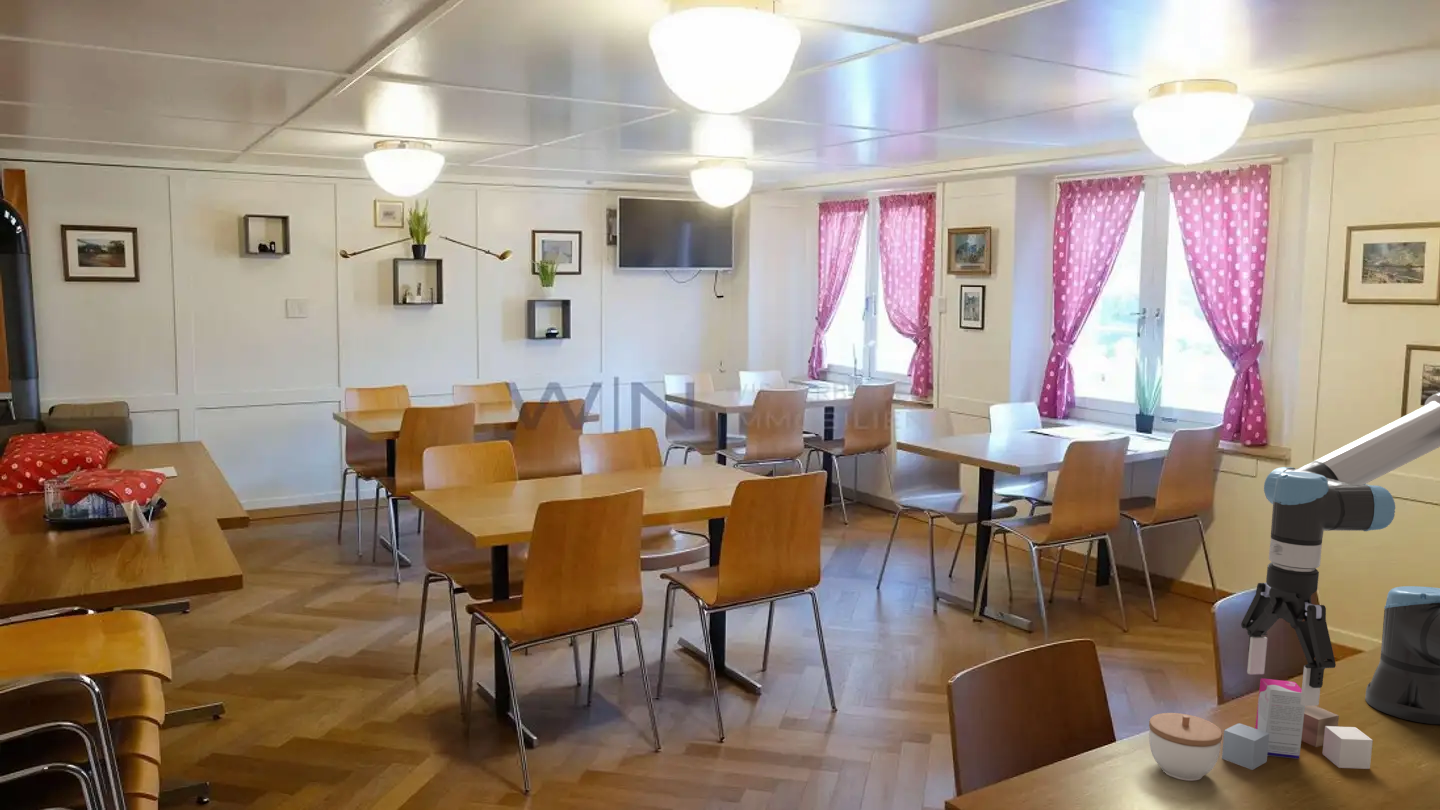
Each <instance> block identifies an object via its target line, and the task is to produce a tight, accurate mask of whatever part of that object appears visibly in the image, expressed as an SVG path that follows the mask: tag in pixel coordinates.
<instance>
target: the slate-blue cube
mask: <svg viewBox="0 0 1440 810" xmlns="http://www.w3.org/2000/svg"><path fill="white" fill-rule="evenodd" d="M1222 739H1223V741H1222V754H1221V759H1222V760H1225V761H1227V762H1231V763H1232V764H1235V765H1238V766H1241V767H1243V768H1247V769H1248V770H1251V771H1253V770H1255V769H1256V768H1258V767H1260V766H1262V765H1264V764H1266V763H1267V760H1268V756H1267V753H1268V742H1269V733H1267V732H1264V731H1261V730H1258V729H1255V727H1253V726H1249V725H1246V724H1243V723H1240V722H1237V723H1236V724H1233V725H1231V726H1230V727H1227V728H1226V729H1224V730H1223V738H1222Z"/></svg>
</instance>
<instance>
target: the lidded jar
mask: <svg viewBox="0 0 1440 810" xmlns="http://www.w3.org/2000/svg"><path fill="white" fill-rule="evenodd" d="M1148 723H1149V724H1148V727H1149V733H1148V735H1149V737H1148V739H1149V748H1150V752H1151V755H1152V757H1153V759H1154V761H1155V762H1156V764H1157V765H1158V766H1159V767H1160V768H1161V771H1162V770H1163V771H1162V772H1163V773H1164V772H1165V773H1166V775H1167V776H1168V777H1171V778H1173V779H1177V780H1180V781H1187V782H1190V781H1191V782H1194V781H1200V780H1201V779H1202V778H1203V776H1205V775H1207V774H1208V773H1210V772H1211V771H1212V770H1213V769H1214V767H1215V766H1216V763H1217V762H1218V760H1219V756H1220V753H1221V752H1220V751H1221V746H1222V745H1221V744H1222V743H1221V742H1222V739H1223V732H1222V729H1221V728H1220V727H1219V726H1217V725H1216V724H1215V723H1213V722H1211V721H1209V720H1206V718H1203V717H1200V716H1195V715H1193V714H1192V715H1191V714H1186V713H1180V712H1179V713H1178V712H1163V713H1157V714H1155V715H1153V716H1151V717H1150V719H1149V721H1148ZM1165 773H1164V774H1165Z"/></svg>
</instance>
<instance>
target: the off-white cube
mask: <svg viewBox="0 0 1440 810" xmlns="http://www.w3.org/2000/svg"><path fill="white" fill-rule="evenodd" d="M1373 741H1374V740H1373V739H1372V738H1370V737H1369V736H1368V735H1367V734H1365V733H1364V732H1363V731H1361V730H1360V729H1358V728H1357V727H1355V726H1338V727H1337V726H1325V733H1324V743H1323V746H1322V755H1323V756H1325V758H1327V760H1328V761H1330V762H1331V763H1333V764H1334V766H1336V767H1338V769H1341V768H1342V769H1362V770H1364V769H1365V770H1369V769H1371V761H1372V760H1371V759H1372V749H1373Z"/></svg>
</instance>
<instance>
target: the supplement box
mask: <svg viewBox="0 0 1440 810" xmlns="http://www.w3.org/2000/svg"><path fill="white" fill-rule="evenodd" d="M1258 691H1259V692H1258V697H1257V698H1258V700H1257V709H1256V718H1255V719H1256V720H1255V727H1254V728H1255V729H1258V730H1261V731H1264V732H1267V733H1269V742H1268V753H1267V757H1278V758H1286V759H1287V758H1289V759H1297V760H1299V759H1300V757H1301V744H1302V741H1301V739H1302V729H1303V720H1304V711H1305V706H1303V705H1301V704H1300V702H1301V692H1302V687H1300V685H1298V683H1296V681H1289V680H1279V679H1271V678H1264V677H1263V678H1262V677H1260V682H1259V690H1258Z"/></svg>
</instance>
